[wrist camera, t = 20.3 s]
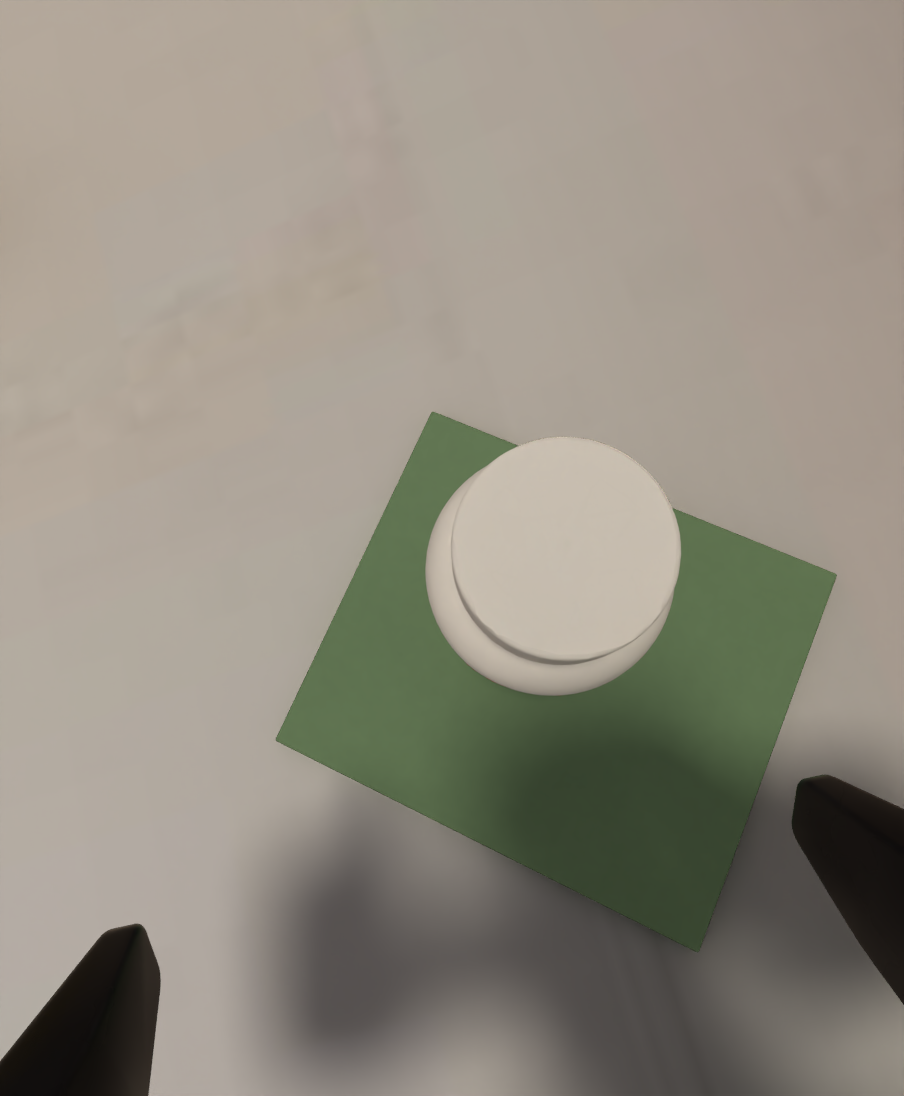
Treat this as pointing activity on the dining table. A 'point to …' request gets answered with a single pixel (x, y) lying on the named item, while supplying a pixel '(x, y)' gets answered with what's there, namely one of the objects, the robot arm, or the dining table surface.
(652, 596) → the pill bottle
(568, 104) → the dining table surface
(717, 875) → the towel
